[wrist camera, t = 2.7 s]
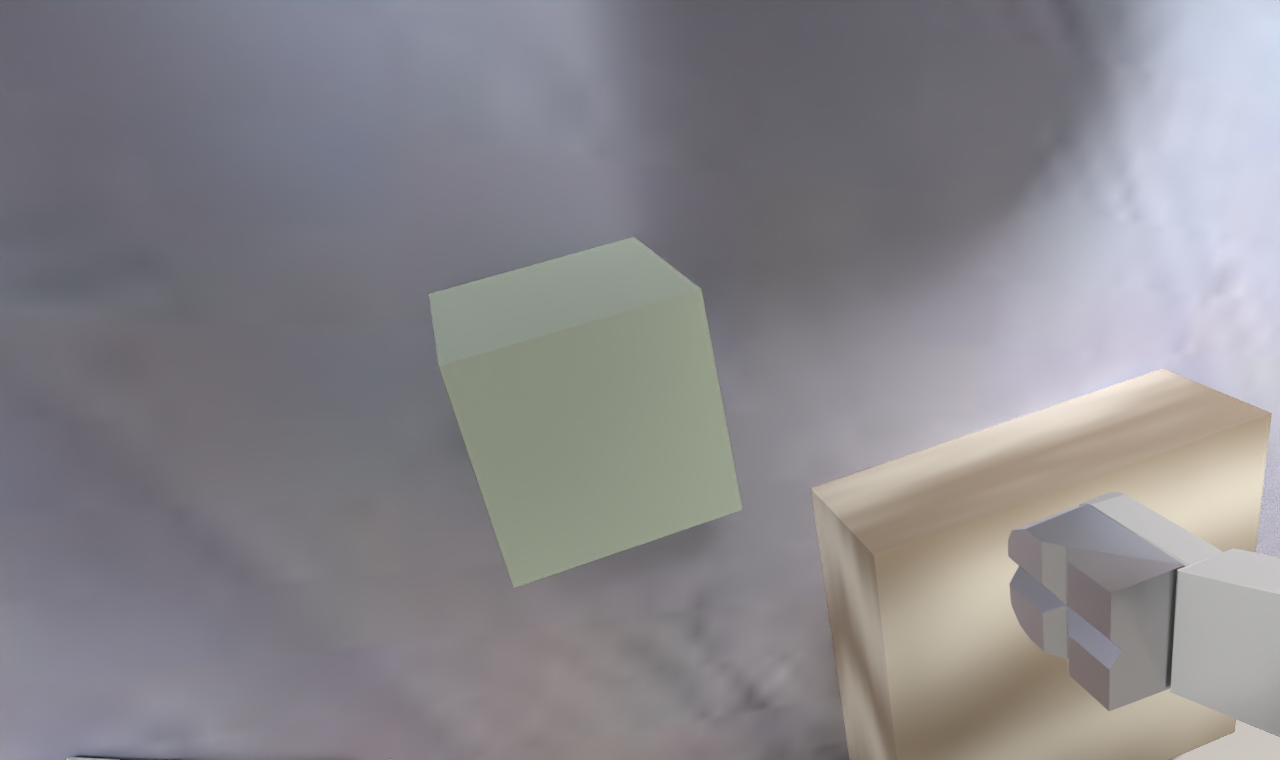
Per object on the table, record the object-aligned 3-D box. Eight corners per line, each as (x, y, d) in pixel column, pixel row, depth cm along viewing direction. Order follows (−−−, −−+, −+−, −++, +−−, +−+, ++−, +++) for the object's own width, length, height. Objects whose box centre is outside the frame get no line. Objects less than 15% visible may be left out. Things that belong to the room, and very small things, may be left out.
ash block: (804, 481, 24) (874, 555, 21) (1152, 364, 26) (1271, 413, 23) (846, 770, 29) (909, 870, 26) (1138, 653, 31) (1234, 731, 28)
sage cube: (427, 292, 19) (438, 365, 15) (632, 236, 20) (701, 288, 16) (488, 475, 21) (513, 588, 17) (672, 417, 22) (742, 510, 18)
